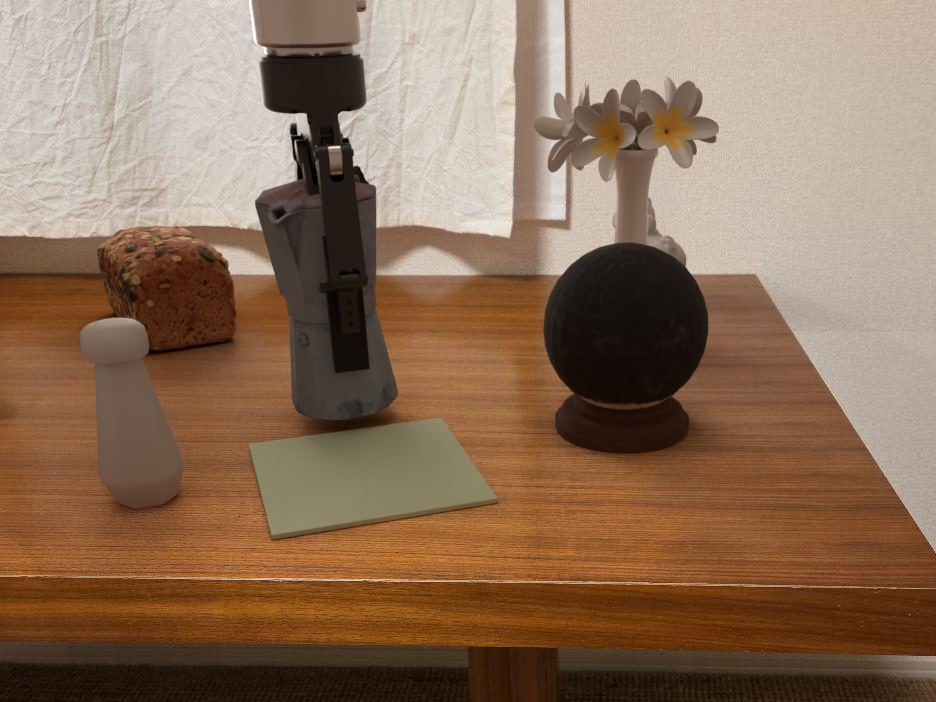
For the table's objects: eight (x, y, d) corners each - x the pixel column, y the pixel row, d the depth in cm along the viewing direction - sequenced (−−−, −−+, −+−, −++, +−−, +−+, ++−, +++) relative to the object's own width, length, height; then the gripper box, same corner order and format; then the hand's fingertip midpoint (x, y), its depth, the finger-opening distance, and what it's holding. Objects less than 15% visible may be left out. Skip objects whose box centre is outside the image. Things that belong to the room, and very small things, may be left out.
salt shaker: (92, 495, 74) (49, 322, 67) (166, 471, 77) (131, 304, 71) (128, 522, 70) (86, 342, 64) (203, 496, 74) (171, 322, 67)
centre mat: (272, 540, 68) (271, 535, 68) (249, 448, 81) (248, 443, 81) (498, 502, 73) (498, 497, 72) (442, 421, 86) (441, 417, 86)
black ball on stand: (510, 428, 84) (507, 246, 77) (608, 385, 93) (613, 218, 86) (637, 473, 77) (647, 276, 69) (730, 422, 85) (748, 242, 78)
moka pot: (251, 428, 81) (211, 164, 71) (329, 367, 94) (305, 138, 84) (362, 439, 79) (337, 168, 69) (427, 375, 92) (413, 141, 82)
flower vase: (575, 315, 112) (578, 67, 100) (729, 344, 103) (753, 75, 91) (508, 347, 102) (502, 78, 90) (671, 382, 94) (689, 88, 81)
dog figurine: (637, 279, 125) (641, 189, 120) (691, 305, 115) (697, 209, 110) (599, 284, 123) (601, 193, 118) (650, 311, 113) (654, 213, 108)
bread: (244, 341, 105) (229, 243, 100) (137, 358, 100) (116, 257, 95) (200, 297, 119) (185, 210, 114) (105, 311, 114) (85, 220, 109)
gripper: (394, 59, 65) (416, 389, 76) (335, 40, 83) (360, 310, 94) (276, 63, 63) (316, 402, 74) (241, 42, 81) (278, 318, 92)
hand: (341, 350), depth 84 cm, fingers closed on moka pot, 9 cm apart
